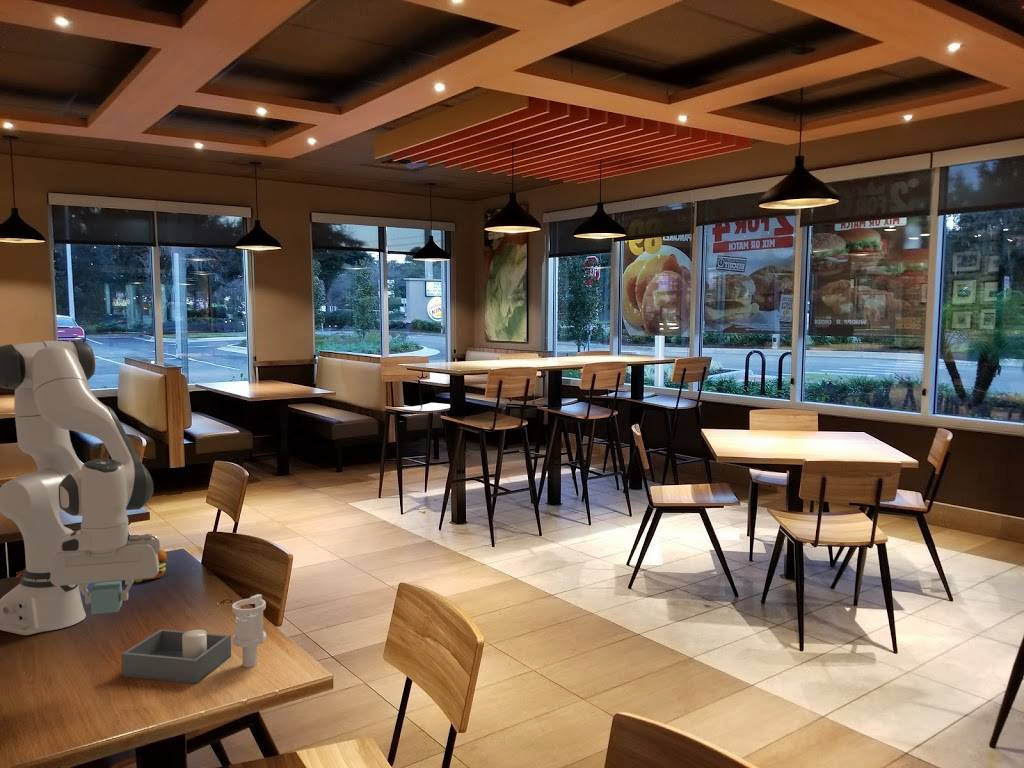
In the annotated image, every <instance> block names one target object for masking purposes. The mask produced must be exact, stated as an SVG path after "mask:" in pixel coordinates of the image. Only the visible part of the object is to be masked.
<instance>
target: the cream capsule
mask: <svg viewBox="0 0 1024 768" xmlns="http://www.w3.org/2000/svg"><path fill="white" fill-rule="evenodd" d="M207 633H208V632H207V631H206V630H204V629H192V630H187V631H186V632H185V633H184V634H183V635H182V657H183V658H190V659H196V658H197V657H198V656H200V655H201V654H202V653H204V652H205V651H207Z"/></svg>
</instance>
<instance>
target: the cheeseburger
mask: <svg viewBox="0 0 1024 768" xmlns="http://www.w3.org/2000/svg"><path fill="white" fill-rule="evenodd" d="M157 554H158V560H159V572H158V574H157V575H156V576H155V577H154V578H146V579H134V583H141V582H142V581H148V580H154V579H159V578H162V577H163V576H164V573H165V572H166V570H167V569H166V565H167V562H168V561H170V559H168V555H167V552H166V551H165V550H164V549H160V550H159V552H158V553H157Z"/></svg>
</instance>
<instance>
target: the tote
mask: <svg viewBox="0 0 1024 768" xmlns="http://www.w3.org/2000/svg"><path fill="white" fill-rule="evenodd" d="M185 632H187V631H185V630H174V629H173V630H172V629H164V628H163V629H161V628H160V629H159V630H157V631H155V632H154V633H153V634H151V635H149V636H148V637H146V638H145V639H143V640H141V641H140V642H138V643H137V644H135V645H133V646H131V647H130V648H129V649H126V650H125V651H124V652H122V653H121V677H125V678H126V677H127V678H136V679H143V680H144V679H145V680H155V681H165V682H173V683H174V682H176V683H186V684H198V683H200V682H201V681H203V679H205V678H206V677H208V675H210V674H211V673H213V672H214V671H215V670H216V669H218V667H220V666H221V665H222V664H224V663H225V662H226V661H228V660H229V659H230V658H231V657H232V636H231V634H230V635H229V634H220V633H219V634H218V633H217V634H216V633H208V632H207V651H205V652H204V653H202V654H201V655H200V656H198V657H197V658H196V659H190V658H183V657H182V635H183V634H184V633H185Z"/></svg>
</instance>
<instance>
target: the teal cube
mask: <svg viewBox="0 0 1024 768" xmlns="http://www.w3.org/2000/svg"><path fill="white" fill-rule="evenodd" d="M122 582H123V580H122V581H110V582H99V583H94V585H93V586H92V588H91V590H90V593H91V604H90V608H91V609H90V611H91V615H99V614H108V613H109V614H111V613H119V611H120V608H121V607H122V605H123V601H120V599H119V598H120V596H119V593H120V591H122V590H123V587H122V586H123V585H122Z"/></svg>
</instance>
